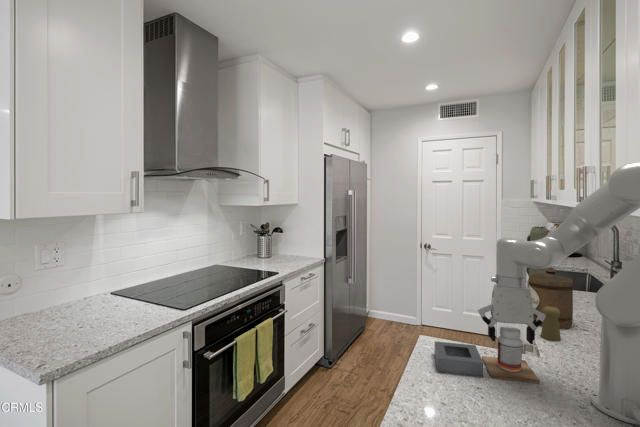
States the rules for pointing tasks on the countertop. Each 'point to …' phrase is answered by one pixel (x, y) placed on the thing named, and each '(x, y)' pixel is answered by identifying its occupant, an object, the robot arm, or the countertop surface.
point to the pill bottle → (509, 349)
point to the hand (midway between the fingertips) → (510, 340)
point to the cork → (551, 324)
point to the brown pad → (498, 373)
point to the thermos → (534, 235)
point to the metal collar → (458, 359)
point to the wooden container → (553, 295)
